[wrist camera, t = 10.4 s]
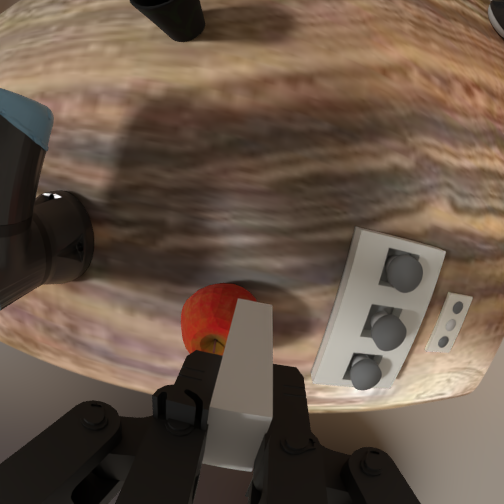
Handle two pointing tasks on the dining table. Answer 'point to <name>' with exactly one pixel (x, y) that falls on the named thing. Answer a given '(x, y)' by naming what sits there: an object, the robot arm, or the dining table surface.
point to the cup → (174, 17)
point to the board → (373, 307)
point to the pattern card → (449, 323)
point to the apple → (211, 317)
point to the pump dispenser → (497, 15)
